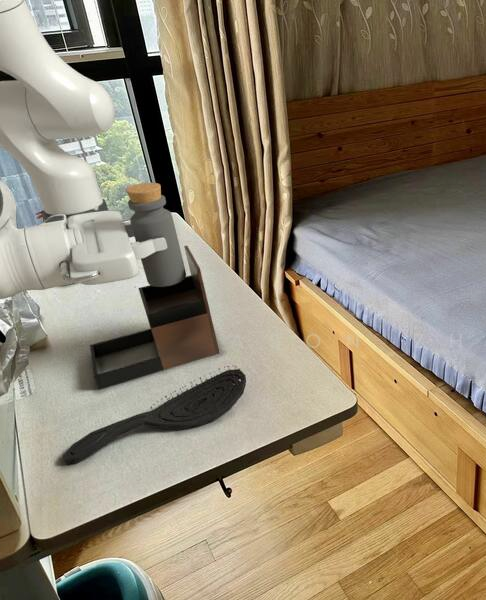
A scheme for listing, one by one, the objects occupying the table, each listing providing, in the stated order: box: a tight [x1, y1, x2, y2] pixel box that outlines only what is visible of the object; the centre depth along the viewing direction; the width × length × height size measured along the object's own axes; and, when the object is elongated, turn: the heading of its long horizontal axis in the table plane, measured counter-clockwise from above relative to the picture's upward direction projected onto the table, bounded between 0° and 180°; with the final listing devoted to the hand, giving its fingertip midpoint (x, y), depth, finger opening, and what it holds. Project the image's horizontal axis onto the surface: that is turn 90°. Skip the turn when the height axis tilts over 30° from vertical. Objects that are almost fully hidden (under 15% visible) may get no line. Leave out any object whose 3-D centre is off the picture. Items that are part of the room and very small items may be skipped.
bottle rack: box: [89, 245, 220, 391], centre depth 87 cm, size 18×10×16 cm, turn 120°
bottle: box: [125, 182, 187, 287], centre depth 83 cm, size 6×6×15 cm
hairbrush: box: [62, 364, 247, 465], centre depth 76 cm, size 8×4×25 cm
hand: (162, 233), depth 83 cm, fingers closed on bottle, 6 cm apart
